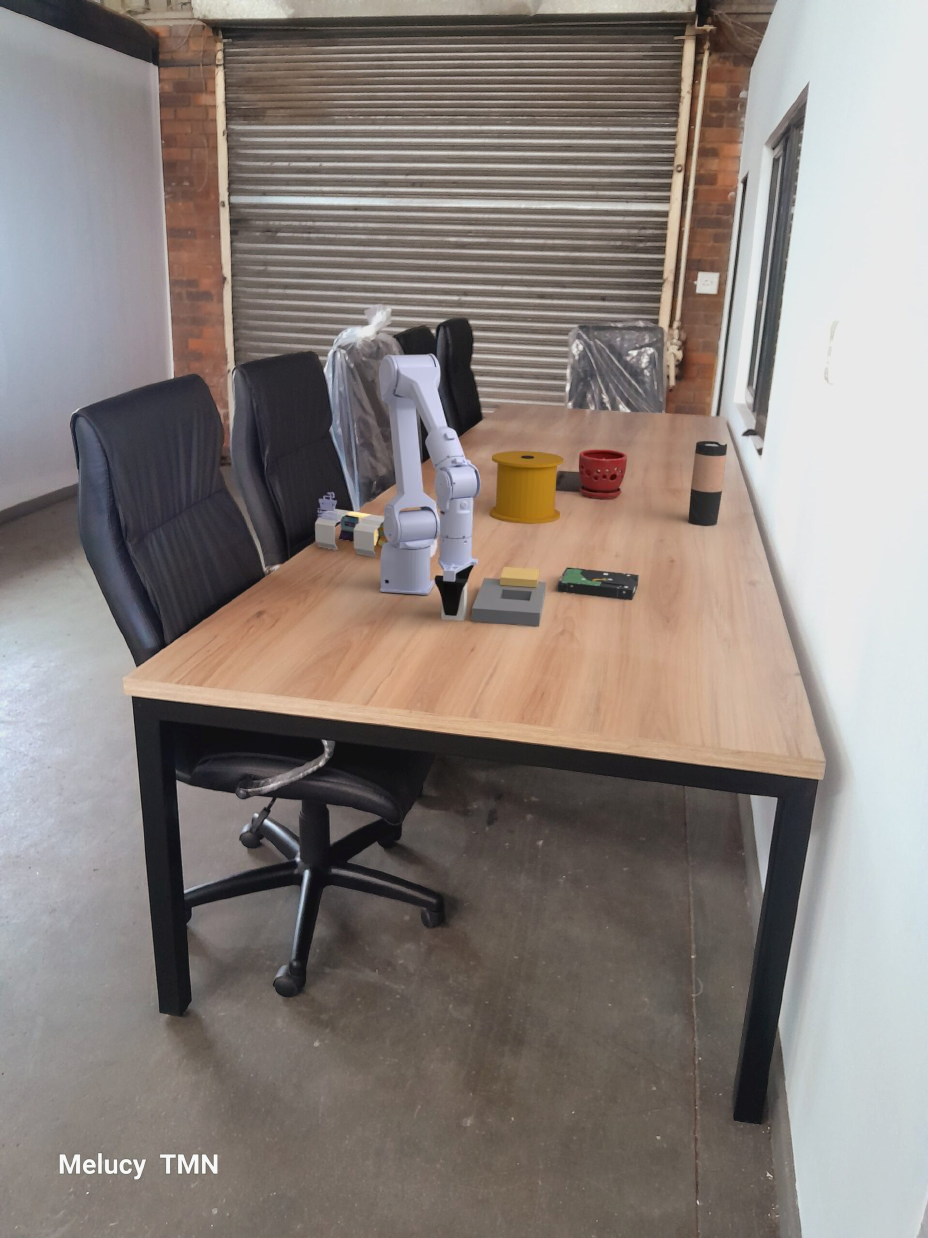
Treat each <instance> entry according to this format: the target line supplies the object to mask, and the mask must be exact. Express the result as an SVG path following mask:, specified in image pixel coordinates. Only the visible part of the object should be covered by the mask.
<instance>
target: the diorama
mask: <svg viewBox="0 0 928 1238" xmlns="http://www.w3.org/2000/svg"><path fill="white" fill-rule="evenodd" d="M326 494H327V495H323V496H322V497H323V498H318V504H319V507H318V508H317V513H318V514H317V519H316V521H315V523H314V532H315V535H314V537H315V543H316V544H317V546H321V547H325V548H328V549H327V550H331V549H333V550H332V551H336V550H338V549H339V548H338V546H337V544H336V525H337V523H340V533H339V536H338V540H340V539H343V540H342V541H346V540H349V541H348V542H352V541H353V549H354V551H355V552H356V555H359V556H364V557H372V558H377V553H376V552H375V546H376V547H381V546H383V544H384V543H389V542H388V540H387V539H386V537H385V534H384V529H383V522H384V515H377V514H370V513H363V512H359V511H358V512H357V511H352V510H345V509H338V508H336V505H337V500H334V498H335V492H333V491H331V492H329V491H328V492H327V493H326ZM327 498H329V499H327ZM438 539H439V536H438V537H437V539H436V540H434V545H431V550H430V558H433V557H434V556H436V552H437V549H438ZM325 548H324V549H325ZM338 551H339V550H338ZM433 555H434V556H433Z"/></svg>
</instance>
